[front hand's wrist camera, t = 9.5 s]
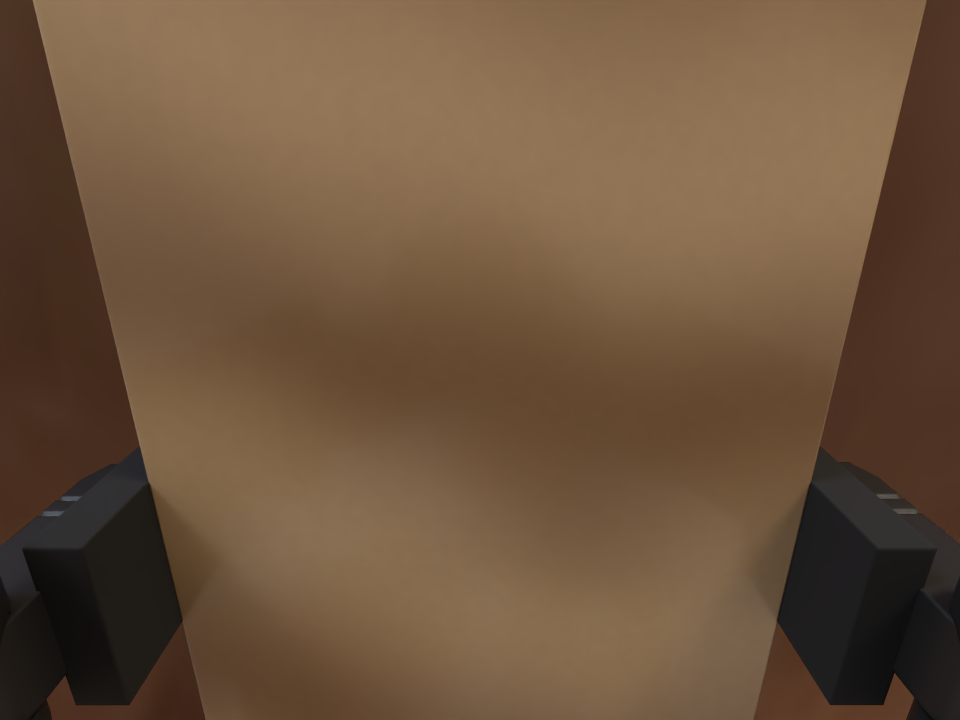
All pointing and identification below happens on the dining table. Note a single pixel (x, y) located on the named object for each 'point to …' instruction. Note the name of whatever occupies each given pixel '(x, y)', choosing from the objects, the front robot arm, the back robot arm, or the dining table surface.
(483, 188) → the tan wooden block
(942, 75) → the dining table surface
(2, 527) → the dining table surface
